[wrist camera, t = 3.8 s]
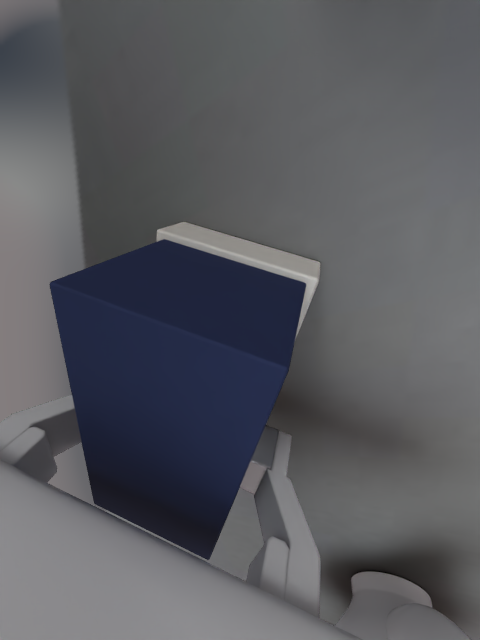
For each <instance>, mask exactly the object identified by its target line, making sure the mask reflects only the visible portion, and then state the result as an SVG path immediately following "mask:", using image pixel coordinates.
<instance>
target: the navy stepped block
mask: <svg viewBox="0 0 480 640" xmlns="http://www.w3.org/2000/svg"><path fill="white" fill-rule="evenodd" d="M320 266H321V264H320V262H318V261H315V260H311V259H308V258H304V257H301V256H298V255H294V254H291V253H288V252H284V251H281V250H278V249H274V248H271V247H267V246H264V245H261V244H257V243H254V242H251V241H247V240H244V239H240V238H237V237H234V236H230V235H227V234H224V233H220V232H217V231H214V230H210V229H207V228H203V227H200V226H197V225H193V224H190V223H187V222H181V223H178V224H175V225H171V226H168V227H165V228H162V229H158V230H157V241H156V242H155V243H152V244H150V245H147V246H144V247H142V248H139V249H136V250H134V251H131V252H129V253H126V254H123V255H121V256H118V257H115V258H113V259H110V260H107V261H105V262H102V263H99V264H97V265H94V266H92V267H89V268H86V269H84V270H81V271H78V272H76V273H73V274H70V275H68V276H65V277H63V278H60V279H57V280H55V281H52V282H51V283H50V289H51V294H52V299H53V304H54V309H55V313H56V319H57V323H58V328H59V333H60V338H61V343H62V348H63V353H64V358H65V363H66V367H67V372H68V378H69V382H70V387H71V392H72V397H73V402H74V407H75V412H76V417H77V422H78V427H79V432H80V436H81V441H82V446H83V451H84V456H85V461H86V466H87V470H88V476H89V480H90V485H91V490H92V495H93V500H94V503H95V504H96V505H98V506H100V507H102V508H104V509H106V510H108V511H110V512H112V513H114V514H116V515H118V516H120V517H122V518H124V519H126V520H128V521H130V522H132V523H134V524H136V525H138V526H140V527H142V528H144V529H146V530H148V531H151V532H153V533H155V534H157V535H159V536H161V537H163V538H165V539H167V540H169V541H171V542H173V543H175V544H177V545H179V546H181V547H183V548H185V549H187V550H189V551H191V552H193V553H195V554H197V555H199V556H201V557H203V558H205V559H207V560H209V559H210V557H211V554H212V552H213V549H214V547H215V545H216V542H217V540H218V538H219V535H220V533H221V530H222V528H223V526H224V523H225V521H226V519H227V516H228V514H229V511H230V509H231V507H232V504H233V502H234V499H235V497H236V495H237V492H238V490H239V488H240V485H241V483H242V480H243V478H244V476H245V473H246V471H247V468H248V466H249V464H250V461H251V459H252V457H253V454H254V452H255V449H256V447H257V445H258V442H259V440H260V437H261V435H262V433H263V430H264V428H265V426H266V423H267V421H268V418H269V416H270V414H271V411H272V409H273V406H274V404H275V402H276V399H277V397H278V395H279V392H280V390H281V387H282V385H283V383H284V380H285V378H286V376H287V373H288V371H289V366H290V362H291V357H292V352H293V347H294V342H295V340H296V337H297V335H298V332H299V330H300V327H301V325H302V322H303V320H304V317H305V315H306V312H307V310H308V307H309V305H310V302H311V300H312V298H313V295H314V293H315V290H316V288H317V285H318V283H319V276H320Z"/></svg>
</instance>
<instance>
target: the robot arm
mask: <svg viewBox="0 0 480 640" xmlns="http://www.w3.org/2000/svg"><path fill="white" fill-rule="evenodd" d="M291 440H292V437H291V435H289V434H287V433H284V432H282V431H278V429H275V428H272V427H270V426H267V425H266V426H265V428H264V430H263V433H262V435H261V437H260V440H259V442H258V445H257V447H256V449H255V452H254V454H253V457H252V459H251V461H250V464H249V466H248V468H247V471H246V473H245V476H244V478H243V480H242V483H241V485H240V488H242V489H244V490H246V491H248V492H250V493H252V494H255V495H254V498H255V503H256V507H257V512H258V517H259V521H260V526H261V531H262V536H263V540H264V546H263V547H262V548H261V550H260V551H259V553H258V554H257V555H256V557H255V558H254V560H253V561H252V563H251V564H250V565H249V570H248V575H247V580H246V581H244V580H242V579H240V578H238V577H236V576H234V575H232V574H230V573H228V572H226V571H224V570H221V569H219V568H217V567H215V566H213V565H211V564H209V563H207V562H205V561H203V560H201V559H199V558H197V557H195V556H193V555H191V554H189V553H187V552H185V551H183V550H181V549H179V548H177V547H175V546H173V545H171V544H169V543H167V542H165V541H163V540H161V539H159V538H157V537H155V536H153V535H151V534H149V533H147V532H145V531H143V530H141V529H139V528H137V527H135V526H133V525H131V524H129V523H127V522H125V521H123V520H121V519H119V518H117V517H115V516H113V515H111V514H109V513H107V512H105V511H103V510H101V509H99V508H97V507H95V506H92V505H91V504H89V503H87V502H84V501H82V500H80V499H78V498H76V497H74V496H72V495H70V494H68V493H66V492H64V491H62V490H60V489H58V488H56V487H54V486H52V485H50V484H48V483H47V482H48V481H49V480H50V479H51V478H52V477H53V476H54V474H55V473H56V472H57V466H56V463H55V460H54V456H56V455H58V454H60V453H62V452H63V451H65V450H67V449H69V448H71V447H73V446H75V445H77V444H79V443H80V442H82V441H81V436H80V432H79V427H78V422H77V417H76V412H75V407H74V402H73V397H72V394H71V395H68V396H65V397H62V398H59V399H56V400H53V401H50V402H47V403H44V404H41V405H38V406H35V407H32V408H29V409H26V410H22V411H19V412H16V413H13V414H11V415H10V416H8V417H7V418H6V419H4V420H3V421H2V422H1V423H0V640H362V639H360V638H358V637H356V636H354V635H352V634H350V633H348V632H346V631H344V630H342V629H340V628H338V627H336V626H334V625H332V624H330V623H328V622H326V621H324V620H322V619H320V618H319V614H320V568H321V557H320V554H319V551H318V549H317V546H316V544H315V541H314V539H313V536H312V533H311V531H310V528H309V526H308V523H307V521H306V518H305V515H304V513H303V510H302V508H301V505H300V502H299V500H298V497H297V495H296V492H295V490H294V487H293V484H292V482H291V479H290V478H288V477H287V469H288V462H289V455H290V448H291Z"/></svg>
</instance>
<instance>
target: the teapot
mask: <svg viewBox="0 0 480 640" xmlns="http://www.w3.org/2000/svg"><path fill="white" fill-rule="evenodd" d="M351 585H352V594H353V597H352V600H351V602H350V604H349V607H348V608H347V610H346V612H345V613H344V614H343V616H342V617H341V618H340V619H339V621H338V622H337V623H336V624H335V626H336V627H338V628H340V629H342V630H344V631H346V632H348V633H350V634H352V635H354V636H356V637H358V638H360V639H362V640H471V639H470V638H469V637H468V636H467V635H466V634H465V633H464V632H463V631H462V630H461V629H460V628H459V627H458V626H457V625H456V624H455V623H454V622H453V621H451V620H450V619H449V618H448V617H446V616H445V615H443V614H442V613H440V612H439V611H437V610H435V609H434V608H433V606H432V601H431V598H430V596H429V595H428V594H427V593H426V592H425V591H424V590H423V589H422V588H420V587H419V586H418V585H416V584H414V583H412V582H410V581H408V580H406V579H404V578H401V577H398V576H395V575H391V574H387V573H382V572H374V571H365V572H360V573H357V574H355V575H354V576H353V577H352V578H351Z"/></svg>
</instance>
